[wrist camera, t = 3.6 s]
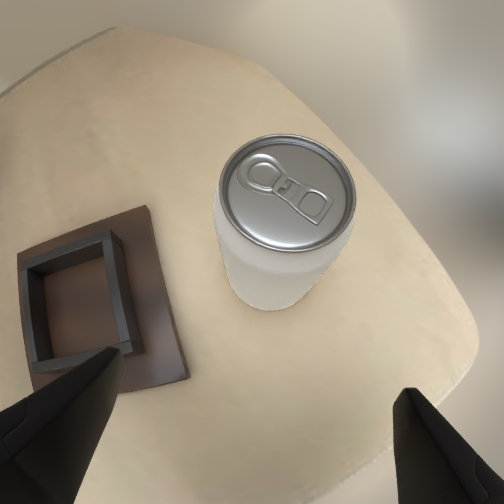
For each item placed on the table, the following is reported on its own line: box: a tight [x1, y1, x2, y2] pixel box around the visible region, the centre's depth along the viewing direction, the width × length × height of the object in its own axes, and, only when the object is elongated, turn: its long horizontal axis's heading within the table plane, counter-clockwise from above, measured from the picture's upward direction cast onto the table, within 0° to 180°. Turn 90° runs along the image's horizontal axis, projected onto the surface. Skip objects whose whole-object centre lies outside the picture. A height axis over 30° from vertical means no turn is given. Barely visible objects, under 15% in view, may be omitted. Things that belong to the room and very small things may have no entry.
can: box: [213, 134, 356, 311], centre depth 18 cm, size 6×6×12 cm
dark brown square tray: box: [17, 205, 190, 394], centre depth 20 cm, size 14×14×4 cm
